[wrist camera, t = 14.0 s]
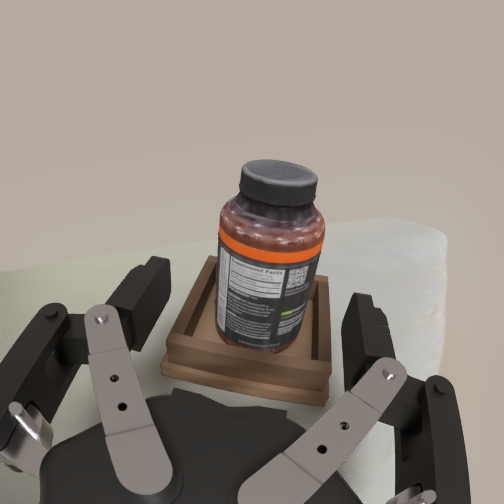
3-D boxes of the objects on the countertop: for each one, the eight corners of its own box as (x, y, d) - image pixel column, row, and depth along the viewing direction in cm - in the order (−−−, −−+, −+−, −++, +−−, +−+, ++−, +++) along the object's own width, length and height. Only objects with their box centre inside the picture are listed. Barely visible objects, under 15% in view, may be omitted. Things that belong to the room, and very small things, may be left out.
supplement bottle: (243, 290, 26) (260, 148, 20) (310, 320, 23) (350, 173, 17) (196, 332, 21) (199, 166, 15) (273, 374, 19) (315, 201, 13)
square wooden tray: (161, 374, 19) (156, 344, 17) (204, 281, 28) (205, 252, 26) (323, 406, 18) (338, 379, 16) (323, 302, 27) (332, 274, 25)
